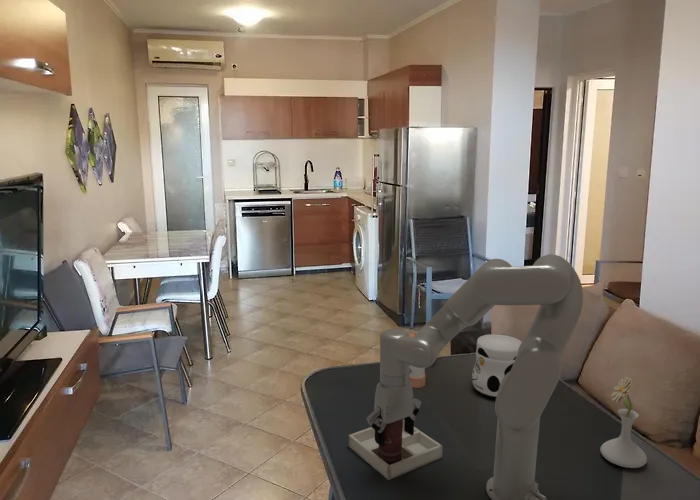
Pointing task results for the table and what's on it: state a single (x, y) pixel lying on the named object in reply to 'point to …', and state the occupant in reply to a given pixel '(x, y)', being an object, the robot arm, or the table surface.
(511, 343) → the milk container
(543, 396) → the robot arm
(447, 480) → the table surface
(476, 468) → the table surface
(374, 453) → the divided tray
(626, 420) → the flower in vase
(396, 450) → the can
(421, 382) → the pepper shaker
